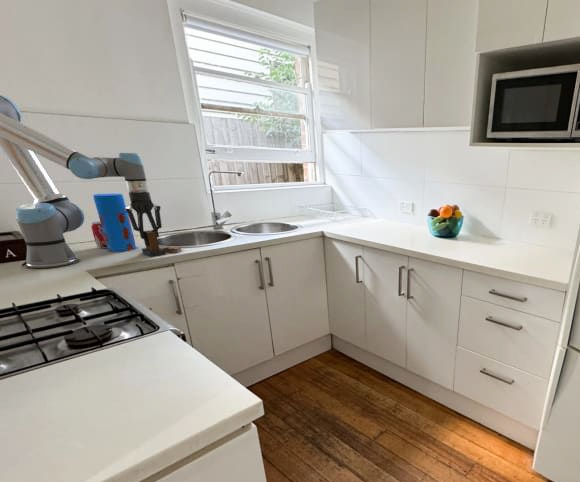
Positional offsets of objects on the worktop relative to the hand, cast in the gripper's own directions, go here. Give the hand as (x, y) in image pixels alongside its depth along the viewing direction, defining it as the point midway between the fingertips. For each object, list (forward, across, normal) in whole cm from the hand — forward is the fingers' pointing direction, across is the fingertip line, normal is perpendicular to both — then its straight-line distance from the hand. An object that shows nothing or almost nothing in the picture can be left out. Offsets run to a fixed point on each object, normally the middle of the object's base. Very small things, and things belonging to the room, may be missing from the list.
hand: (152, 245), depth 173 cm
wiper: (+4, 0, 0) cm, 4 cm away
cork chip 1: (+4, +5, +1) cm, 7 cm away
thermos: (+4, -6, +20) cm, 22 cm away
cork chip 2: (+4, +8, -3) cm, 9 cm away
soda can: (+4, -10, +29) cm, 31 cm away
